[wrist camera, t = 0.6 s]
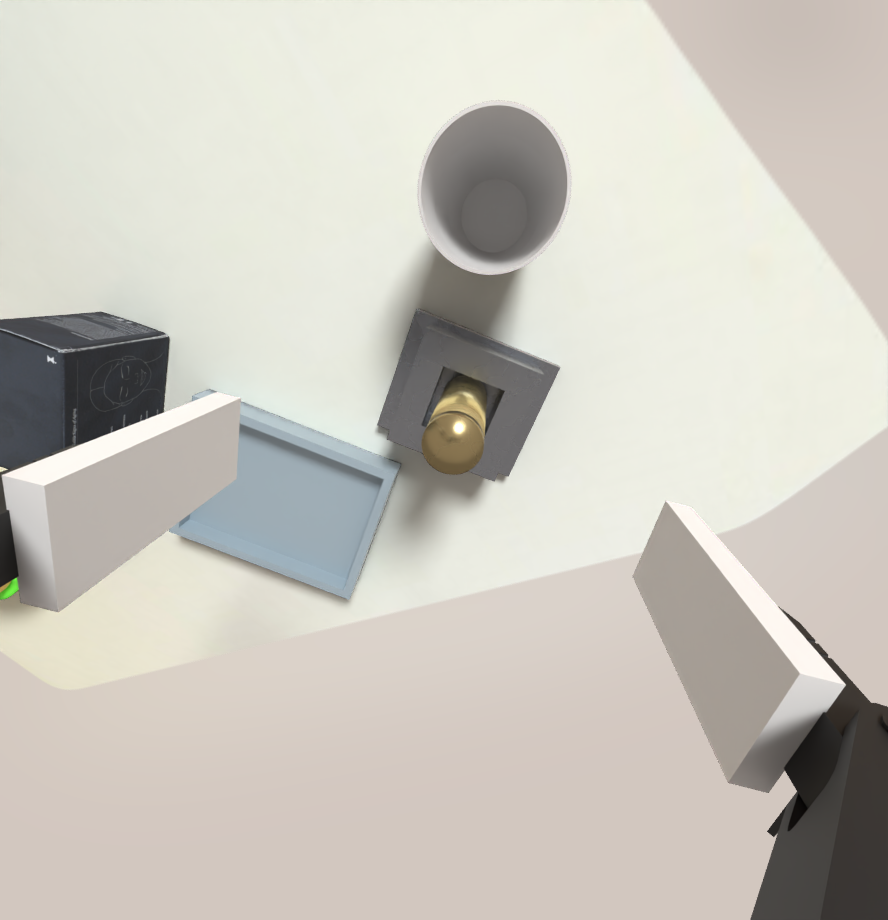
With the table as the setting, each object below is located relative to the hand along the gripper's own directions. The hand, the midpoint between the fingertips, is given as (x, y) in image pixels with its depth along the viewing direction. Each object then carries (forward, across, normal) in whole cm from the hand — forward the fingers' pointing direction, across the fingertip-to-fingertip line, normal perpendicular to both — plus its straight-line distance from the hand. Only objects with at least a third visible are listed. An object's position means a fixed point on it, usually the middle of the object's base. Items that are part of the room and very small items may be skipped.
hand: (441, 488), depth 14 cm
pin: (+24, 0, -3) cm, 25 cm away
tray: (+25, -14, -16) cm, 33 cm away
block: (+25, 0, -3) cm, 26 cm away
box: (+26, -29, -9) cm, 40 cm away
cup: (+26, -1, +10) cm, 28 cm away
